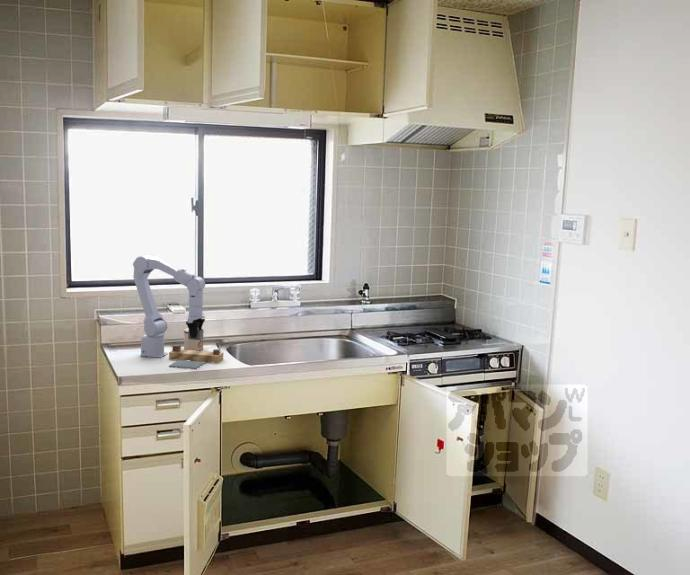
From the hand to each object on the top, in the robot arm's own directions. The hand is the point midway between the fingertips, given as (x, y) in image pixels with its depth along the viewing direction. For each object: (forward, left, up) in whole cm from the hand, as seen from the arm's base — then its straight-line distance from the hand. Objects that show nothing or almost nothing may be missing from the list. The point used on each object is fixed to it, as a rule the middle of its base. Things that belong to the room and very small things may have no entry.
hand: (195, 336), depth 309 cm
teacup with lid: (-8, +21, -11) cm, 25 cm away
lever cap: (0, 0, -1) cm, 1 cm away
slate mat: (0, -9, -10) cm, 14 cm away
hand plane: (0, +2, -10) cm, 11 cm away
